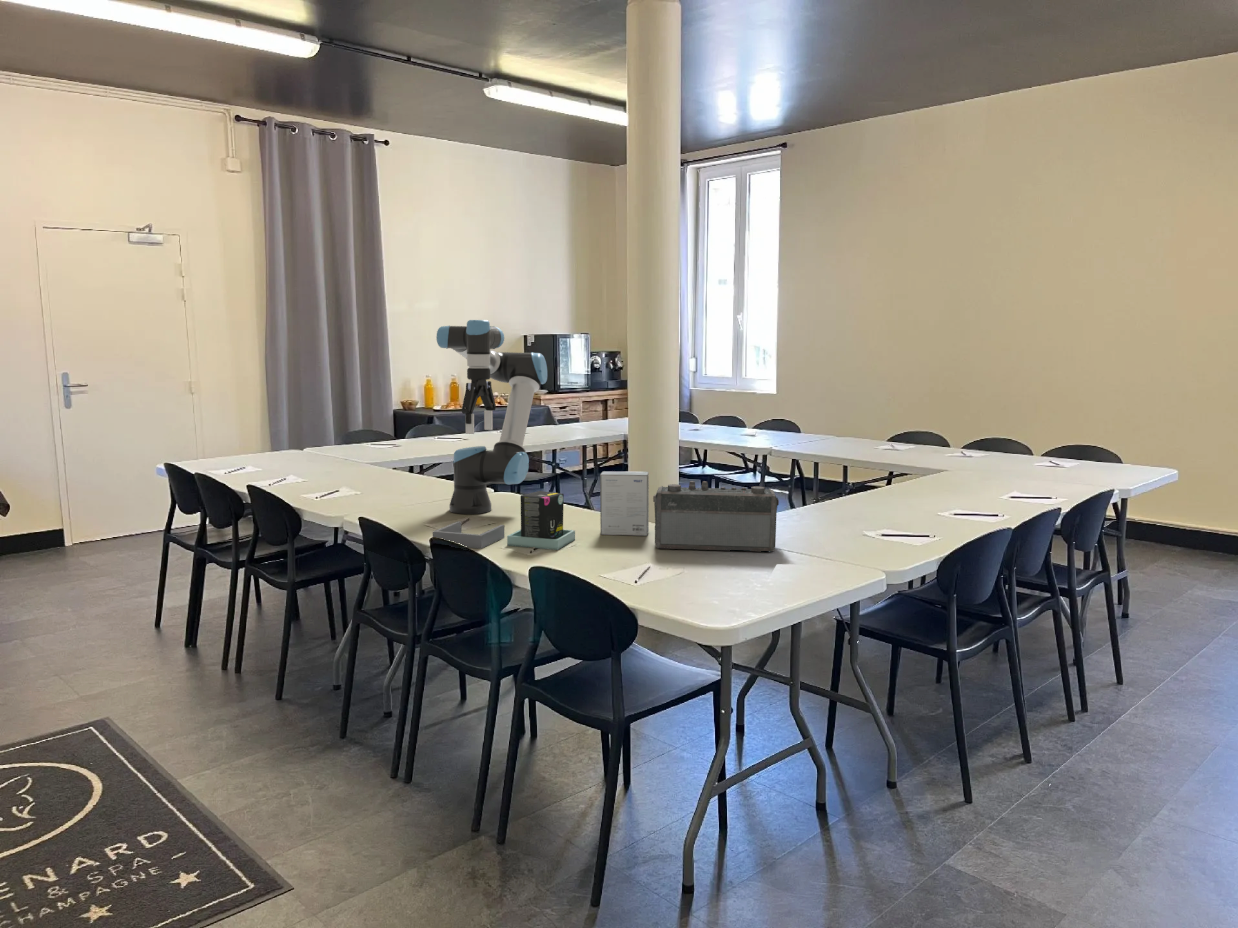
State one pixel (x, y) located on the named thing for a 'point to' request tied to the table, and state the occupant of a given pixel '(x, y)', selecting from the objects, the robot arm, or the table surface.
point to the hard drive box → (624, 503)
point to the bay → (469, 535)
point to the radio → (715, 518)
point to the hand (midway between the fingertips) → (479, 431)
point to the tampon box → (542, 515)
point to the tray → (541, 540)
